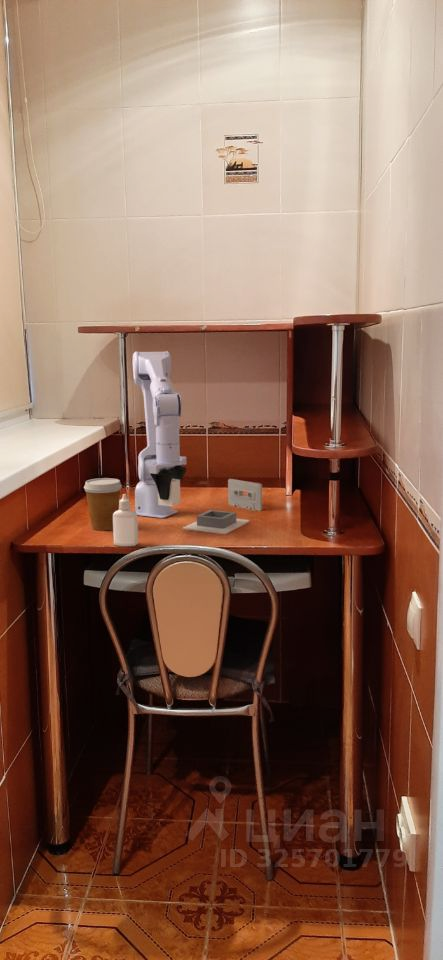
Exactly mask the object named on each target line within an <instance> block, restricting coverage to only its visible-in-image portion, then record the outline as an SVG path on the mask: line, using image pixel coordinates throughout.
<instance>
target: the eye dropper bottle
mask: <svg viewBox="0 0 443 960" xmlns="http://www.w3.org/2000/svg"><path fill="white" fill-rule="evenodd" d="M138 523H139V522H138V515H137V513H136V510H135V511H134V510H133V509H131V501H130V499H128V498H127V494H126V493H123V494H122V498H121V499H119V509H118V510H117V511H115V512H114V513H113V529H112V532H113V533H112V535H113V545H114V546H118V547H136V546H137V545H138V544H139V527H138V526H139V525H138Z"/></svg>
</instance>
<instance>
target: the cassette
mask: <svg viewBox="0 0 443 960" xmlns="http://www.w3.org/2000/svg"><path fill="white" fill-rule="evenodd" d="M244 493H246V495H245V494H244ZM227 497H228V499H227V501H228V503H227V505H228V504H230V505H233V506H232V507H234V506H237V507H236V508H239V507H242V508H241V509H244V508H246V509H245V510H249V509H251V510H250V511H256V510H258V511H257V512H261V510H262V511H263V484H262V483H260V482H254V481H253V482H252V481H247V480H246V481H245V480H241V479H240V480H239V479H235V478H229V479H228V480H227ZM230 505H229V506H230Z"/></svg>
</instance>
